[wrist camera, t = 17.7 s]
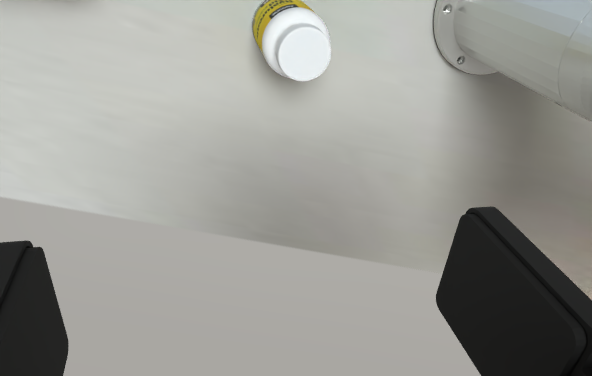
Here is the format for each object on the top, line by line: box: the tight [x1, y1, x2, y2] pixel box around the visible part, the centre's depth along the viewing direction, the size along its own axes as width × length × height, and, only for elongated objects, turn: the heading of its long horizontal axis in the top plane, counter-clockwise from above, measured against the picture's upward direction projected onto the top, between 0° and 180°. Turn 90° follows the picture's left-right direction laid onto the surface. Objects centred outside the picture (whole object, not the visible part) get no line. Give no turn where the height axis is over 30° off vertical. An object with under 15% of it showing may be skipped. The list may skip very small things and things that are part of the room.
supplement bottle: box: [252, 0, 331, 81], centre depth 37 cm, size 5×5×10 cm
